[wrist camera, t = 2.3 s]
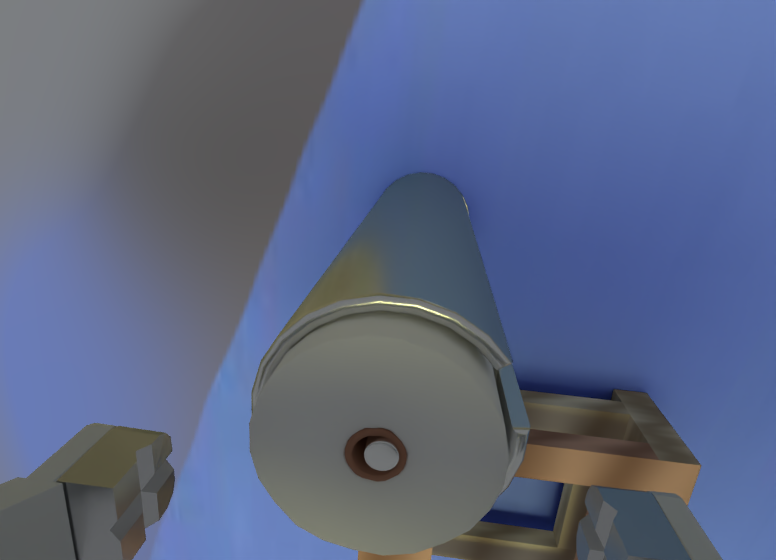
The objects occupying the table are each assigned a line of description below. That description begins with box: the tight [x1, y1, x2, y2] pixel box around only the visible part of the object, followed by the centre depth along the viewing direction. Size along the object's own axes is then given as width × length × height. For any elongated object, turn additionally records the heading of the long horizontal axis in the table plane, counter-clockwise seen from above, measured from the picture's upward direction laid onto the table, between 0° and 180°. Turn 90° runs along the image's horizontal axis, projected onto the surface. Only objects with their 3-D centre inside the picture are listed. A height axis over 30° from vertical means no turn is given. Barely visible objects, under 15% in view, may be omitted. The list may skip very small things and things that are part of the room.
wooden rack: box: [358, 389, 701, 560], centre depth 36 cm, size 20×15×8 cm
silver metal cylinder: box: [249, 172, 531, 556], centre depth 22 cm, size 6×6×25 cm
